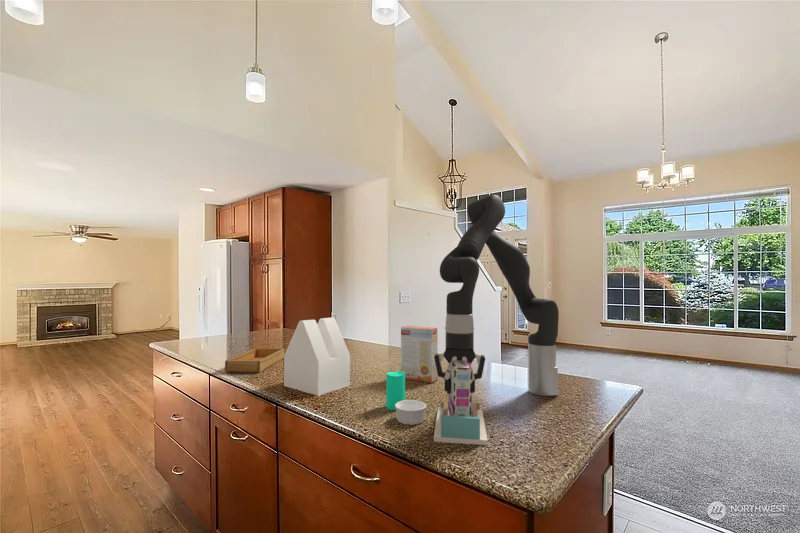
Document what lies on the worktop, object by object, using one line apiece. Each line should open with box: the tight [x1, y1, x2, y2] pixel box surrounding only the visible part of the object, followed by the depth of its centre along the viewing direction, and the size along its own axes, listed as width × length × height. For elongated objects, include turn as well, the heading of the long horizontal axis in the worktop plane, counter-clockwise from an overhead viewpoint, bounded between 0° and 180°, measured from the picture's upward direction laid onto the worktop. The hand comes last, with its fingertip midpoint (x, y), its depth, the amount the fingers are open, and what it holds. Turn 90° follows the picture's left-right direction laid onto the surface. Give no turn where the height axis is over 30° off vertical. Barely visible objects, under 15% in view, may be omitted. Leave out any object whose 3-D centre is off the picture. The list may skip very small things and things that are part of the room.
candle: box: [385, 370, 406, 411], centre depth 119 cm, size 6×6×12 cm
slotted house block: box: [283, 317, 351, 396], centre depth 142 cm, size 19×15×25 cm
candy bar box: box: [447, 360, 473, 417], centre depth 102 cm, size 11×5×16 cm, turn 0°
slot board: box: [433, 399, 488, 446], centre depth 103 cm, size 13×22×6 cm, turn 171°
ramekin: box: [395, 399, 427, 426], centre depth 108 cm, size 9×9×4 cm
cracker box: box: [400, 325, 439, 384], centre depth 151 cm, size 14×6×21 cm, turn 59°
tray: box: [224, 347, 286, 374], centre depth 175 cm, size 31×15×6 cm, turn 178°
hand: (459, 393), depth 102 cm, fingers closed on candy bar box, 5 cm apart
